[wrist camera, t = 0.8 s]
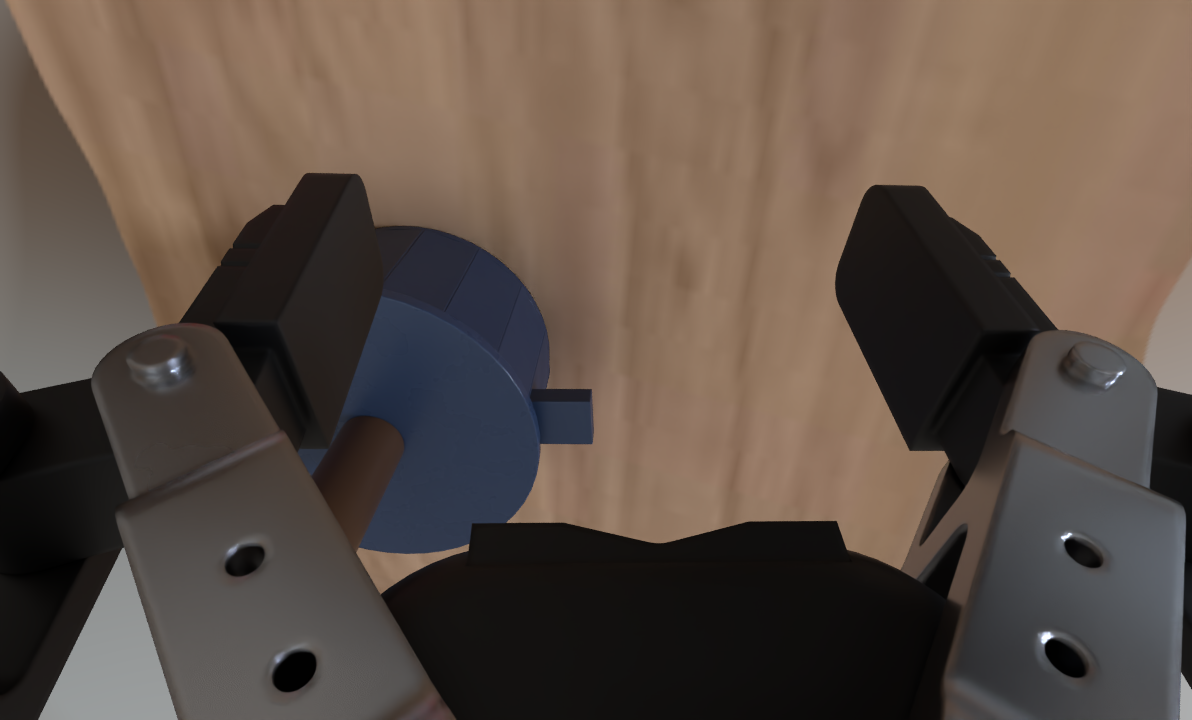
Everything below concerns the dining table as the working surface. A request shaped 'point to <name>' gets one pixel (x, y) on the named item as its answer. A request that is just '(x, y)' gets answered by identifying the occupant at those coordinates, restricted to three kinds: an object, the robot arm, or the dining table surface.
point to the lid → (426, 435)
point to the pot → (487, 316)
